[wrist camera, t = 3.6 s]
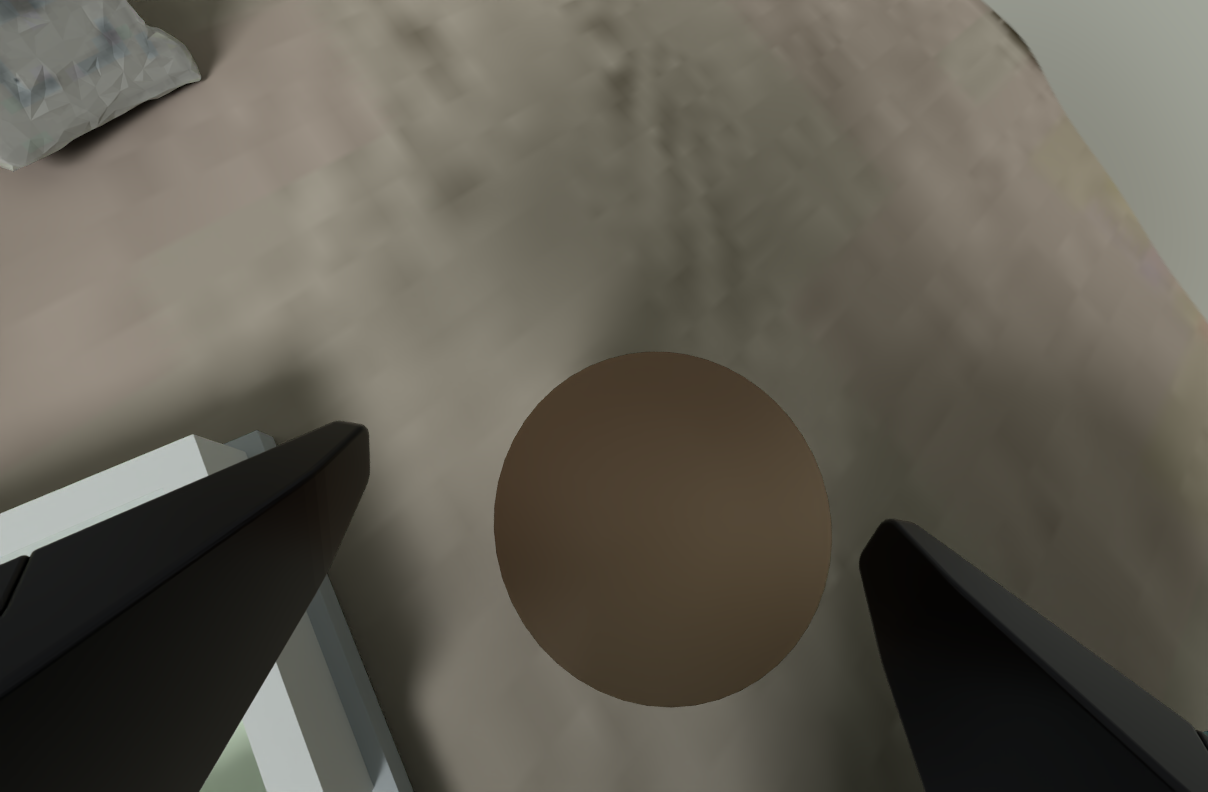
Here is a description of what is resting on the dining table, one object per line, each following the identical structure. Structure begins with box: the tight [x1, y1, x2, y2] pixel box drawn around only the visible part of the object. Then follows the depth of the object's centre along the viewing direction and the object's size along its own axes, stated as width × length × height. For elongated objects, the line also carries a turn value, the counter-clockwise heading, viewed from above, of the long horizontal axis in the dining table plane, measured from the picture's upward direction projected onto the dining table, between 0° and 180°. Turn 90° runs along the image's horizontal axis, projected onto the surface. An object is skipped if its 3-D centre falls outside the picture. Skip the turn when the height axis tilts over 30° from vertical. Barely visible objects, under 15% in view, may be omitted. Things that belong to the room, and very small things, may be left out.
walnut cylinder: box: [494, 352, 832, 707], centre depth 12 cm, size 4×4×11 cm
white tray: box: [0, 430, 414, 792], centre depth 12 cm, size 13×12×4 cm
